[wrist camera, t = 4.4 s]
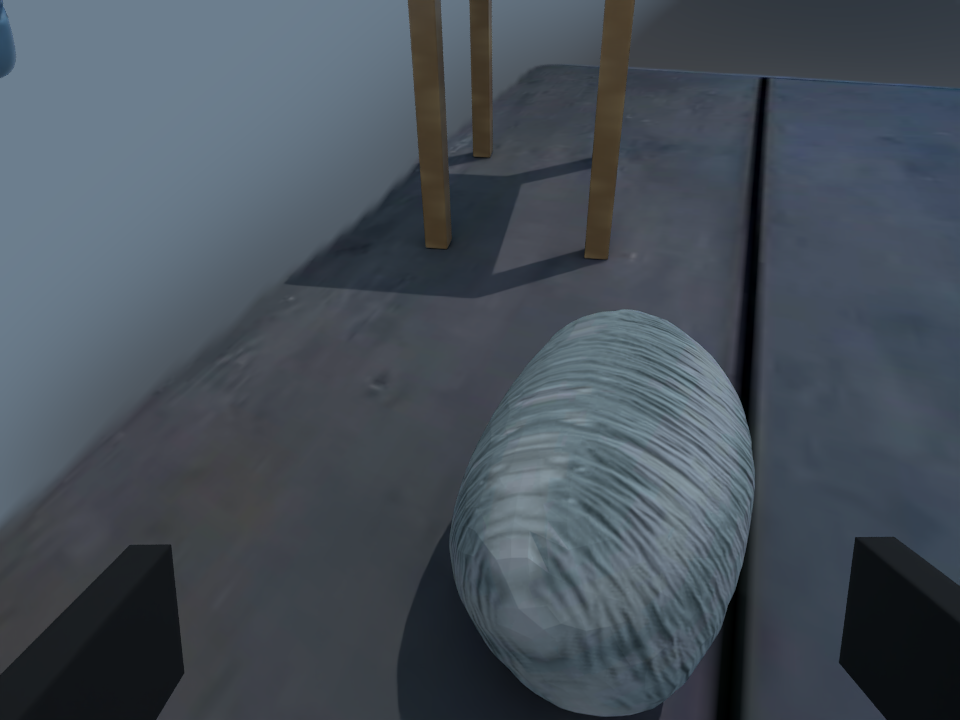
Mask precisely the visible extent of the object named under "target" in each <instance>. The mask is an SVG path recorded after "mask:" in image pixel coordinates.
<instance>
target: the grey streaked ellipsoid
mask: <svg viewBox="0 0 960 720" xmlns="http://www.w3.org/2000/svg"><path fill="white" fill-rule="evenodd" d="M754 492H755V470H754V463H753V457H752V450H751V436H750V432H749V428H748V425H747V421H746V417H745V413H744V410H743V407H742V405H741V402H740V399H739V397H738V395H737V393H736V391H735V389H734V387H733V386H732V384H731V382H730V381H729V379H728V378H727V376H726V374H725V373H724V371H723V370H722V369H721V367H720V366H719V365H718V364H717V362H716V361H715V360H714V358H713V357H712V356H711V355H710V354H709V353H708V352H707V351H706V350H705V349H704V348H703V347H702V346H700V345H699V344H698V343H697V342H696V341H695V340H693V339H692V338H691V337H689V336H688V335H687V334H686V333H684V332H683V331H682V330H681V329H679V328H678V327H676V326H675V325H673V324H671V323H670V322H668V321H667V320H664V319H661V318H658V317H656V316H653V315H650V314H646V313H643V312H640V311H637V310H627V309H622V310H618V311H611V312H599V313H595V314H592V315H588V316H585V317H582V318H580V319H578V320H576V321H574V322H572V323H570V324H568V325H567V326H565V327H564V328H562V329H561V330H559V331H558V332H557V333H556V334H555V335H554V336H553V337H552V338H551V339H550V340H549V342H548V343H547V344H546V345H545V346H544V347H543V348H542V349H541V350H540V351H539V352H538V353H537V355H536V356H535V357H534V358H533V359H532V360H531V361H530V362H529V363H528V365H527V366H526V367H525V368H524V370H523V372H522V373H521V375H520V376H519V377H518V378H517V379H516V380H515V382H514V383H513V385H512V386H511V387H510V389H509V390H508V392H507V393H506V395H505V396H504V398H503V400H502V401H501V403H500V404H499V406H498V408H497V409H496V411H495V412H494V414H493V416H492V418H491V420H490V422H489V423H488V425H487V427H486V429H485V431H484V433H483V435H482V436H481V438H480V440H479V442H478V444H477V446H476V448H475V450H474V452H473V454H472V457H471V459H470V462H469V464H468V467H467V469H466V472H465V475H464V478H463V481H462V484H461V487H460V490H459V493H458V497H457V500H456V504H455V509H454V514H453V519H452V525H451V532H450V540H449V548H450V556H451V562H452V569H453V575H454V580H455V583H456V587H457V590H458V593H459V596H460V598H461V600H462V602H463V604H464V606H465V608H466V610H467V612H468V614H469V616H470V617H471V619H472V621H473V623H474V625H475V627H476V629H477V630H478V632H479V634H480V635H481V637H482V638H483V640H484V642H485V643H486V645H487V646H488V647H489V649H490V650H491V651H492V652H493V654H494V655H495V656H496V657H497V658H498V659H499V660H500V661H501V662H502V663H503V664H504V665H505V666H506V667H507V668H509V669H510V671H511V672H512V673H513V674H514V675H515V676H516V677H517V678H518V679H519V681H520V682H521V683H522V684H523V685H525V686H526V687H527V688H529V689H530V690H531V691H533V692H534V693H535V694H537V695H539V696H540V697H542V698H544V699H546V700H547V701H549V702H551V703H553V704H554V705H556V706H558V707H559V708H562V709H565V710H569V711H572V712H576V713H581V714H587V715H594V716H602V717H610V716H625V715H632V714H636V713H640V712H644V711H647V710H651V709H654V708H655V707H657V706H658V705H659V704H661V703H662V702H663V701H665V700H666V699H667V698H668V697H670V696H671V695H672V694H673V693H674V692H675V691H677V690H678V689H679V688H680V687H681V686H682V685H683V684H685V682H686V681H687V679H688V678H689V677H690V675H691V674H692V672H693V671H694V669H695V668H696V667H697V665H698V664H699V662H700V661H701V659H702V658H703V656H704V655H705V653H706V652H707V650H708V649H709V647H710V646H711V644H712V643H713V641H714V639H715V638H716V636H717V634H718V633H719V631H720V629H721V627H722V624H723V620H724V617H725V614H726V610H727V607H728V604H729V602H730V600H731V597H732V595H733V593H734V591H735V588H736V585H737V581H738V577H739V573H740V570H741V568H742V564H743V559H744V555H745V550H746V545H747V540H748V534H749V529H750V522H751V515H752V507H753V500H754Z"/></svg>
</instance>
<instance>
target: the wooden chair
mask: <svg viewBox="0 0 960 720" xmlns="http://www.w3.org/2000/svg"><path fill="white" fill-rule="evenodd" d="M469 1H470V42H471V84H472V126H473V156H474V157H490V156H491V154H492V152H493V120H492V0H469ZM634 5H635V0H605V9H604V10H605V11H604V22H603V34H602V46H601V60H600V71H599V83H598V95H597V107H596V120H595V132H594V144H593V156H592V169H591V181H590V193H589V205H588V218H587V230H586V242H585V254H584V257H585V258H592V259H608V253H609V243H610V234H611V224H612V215H613V205H614V195H615V186H616V176H617V167H618V157H619V148H620V138H621V129H622V119H623V110H624V100H625V91H626V81H627V71H628V62H629V51H630V43H631V33H632V24H633V13H634ZM408 8H409V21H410V22H409V23H410V37H411V50H412V64H413V77H414V92H415V106H416V120H417V134H418V148H419V162H420V176H421V190H422V204H423V217H424V231H425V245H426V248H440V249H447V248H448V246H449V244H450V242H451V239H452V235H451V213H450V191H449V170H448V148H447V128H446V105H445V84H444V62H443V41H442V21H441V0H408Z"/></svg>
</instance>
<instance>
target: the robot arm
mask: <svg viewBox="0 0 960 720" xmlns="http://www.w3.org/2000/svg"><path fill="white" fill-rule="evenodd" d="M15 61H16V52H15V45H14V40H13V35H12V31H11V27H10V24H9V20H8V17H7V14H6V11H5V9H4V7H3V0H0V78H1V77H4V76H6V75H8V74H9V73H10V72H11V71H12V69H13V68H14V65H15ZM839 663H840V664H841V666H842V667H843V668H844V669H845V670H846V672H847V673H848V674H849V675H850V676H851V678H852V679H853V680H854V681H855V682H856V684H857V685H858V686H859V687H860V688H861V690H862V691H863V692H864V693H865V694H866V695H867V697H868V698H869V699H870V700H871V701H872V703H873V704H874V705H875V706H876V707H877V709H878V710H879V711H880V712H881V713H882V715H883V716H884V717H885V718H886V719H887V720H960V586H959V585H958V584H956V583H955V582H954V581H952V580H951V579H950V578H948V577H947V576H946V575H944V574H943V573H942V572H940V571H939V570H938V569H936V568H935V567H934V566H932V565H931V564H930V563H928V562H927V561H926V560H924V559H923V558H922V557H920V556H919V555H918V554H916V553H915V552H914V551H912V550H911V549H910V548H908V547H907V546H906V545H904V544H903V543H902V542H900V541H899V540H898V539H896V538H895V537H855V544H854V552H853V559H852V567H851V575H850V582H849V590H848V598H847V606H846V613H845V621H844V629H843V636H842V644H841V652H840V659H839ZM183 674H184V665H183V655H182V646H181V636H180V626H179V617H178V607H177V597H176V588H175V578H174V568H173V559H172V549H171V545H129V546H128V547H127V548H126V549H125V550H124V551H123V553H122V554H121V555H120V556H119V557H118V558H117V559H116V560H115V561H114V562H113V563H112V564H111V565H110V566H109V567H108V568H107V569H106V570H105V571H104V572H103V573H102V574H101V575H100V576H99V577H98V578H97V579H96V580H95V581H94V582H93V583H92V584H91V585H90V586H89V587H88V588H87V589H86V590H85V591H84V592H83V593H82V594H81V595H80V596H79V597H78V598H77V599H76V600H75V601H74V602H73V603H72V604H71V605H70V606H69V607H68V608H67V609H66V610H65V611H64V612H63V613H62V614H61V615H60V616H59V617H58V618H57V619H56V620H55V621H54V622H53V623H52V624H51V625H50V626H49V627H48V628H47V629H46V630H45V631H44V632H43V633H42V634H41V635H40V636H39V637H38V638H37V639H36V640H35V641H34V642H33V643H32V644H31V645H30V646H29V647H28V648H27V649H26V650H25V651H24V652H23V653H22V654H21V655H20V656H19V657H18V658H17V659H16V660H15V661H14V662H13V663H12V664H11V665H10V666H9V667H8V668H7V669H6V670H5V671H4V672H3V673H2V674H1V675H0V720H156V719H157V717H158V716H159V714H160V712H161V711H162V709H163V707H164V706H165V704H166V702H167V701H168V699H169V697H170V696H171V694H172V692H173V691H174V689H175V687H176V686H177V684H178V682H179V681H180V679H181V677H182V676H183Z"/></svg>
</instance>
